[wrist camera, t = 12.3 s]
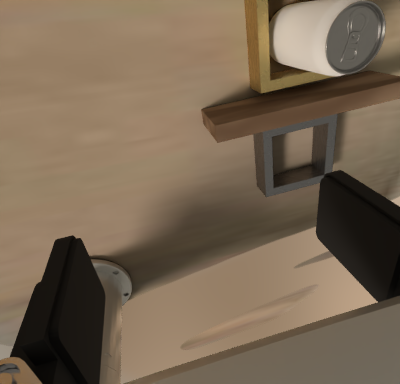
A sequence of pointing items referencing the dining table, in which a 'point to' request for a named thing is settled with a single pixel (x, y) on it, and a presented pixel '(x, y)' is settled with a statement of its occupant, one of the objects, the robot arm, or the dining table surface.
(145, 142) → the dining table surface
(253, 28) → the brass keeper
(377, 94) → the brown wooden plank
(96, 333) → the robot arm
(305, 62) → the can
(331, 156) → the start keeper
